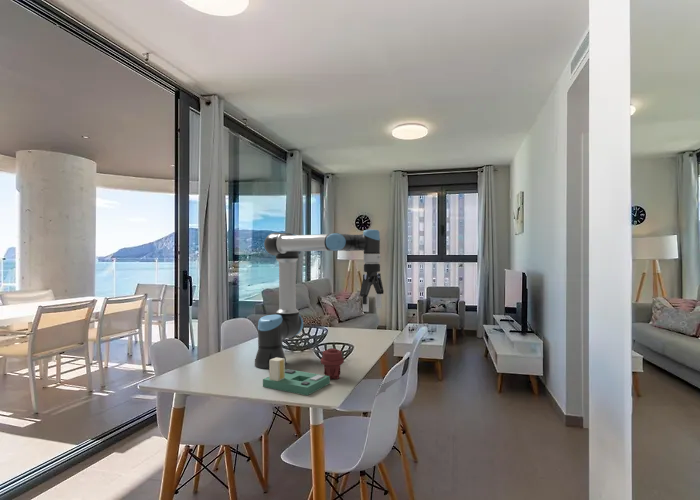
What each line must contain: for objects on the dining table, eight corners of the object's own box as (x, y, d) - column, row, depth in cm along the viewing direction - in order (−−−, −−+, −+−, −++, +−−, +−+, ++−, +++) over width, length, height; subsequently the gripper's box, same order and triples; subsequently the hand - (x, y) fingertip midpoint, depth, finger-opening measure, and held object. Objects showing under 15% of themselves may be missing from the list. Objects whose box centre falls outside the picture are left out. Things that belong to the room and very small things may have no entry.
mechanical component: (320, 381, 167) (320, 374, 177) (344, 381, 168) (343, 373, 178) (320, 352, 167) (320, 346, 177) (344, 351, 168) (342, 346, 178)
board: (262, 386, 161) (262, 377, 161) (287, 375, 175) (287, 367, 175) (307, 395, 151) (307, 386, 151) (329, 383, 165) (329, 374, 165)
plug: (269, 379, 161) (269, 359, 161) (276, 376, 165) (276, 357, 165) (278, 381, 158) (278, 361, 158) (285, 378, 162) (285, 358, 162)
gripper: (367, 264, 170) (367, 313, 169) (390, 262, 192) (390, 306, 191) (351, 264, 173) (352, 312, 173) (376, 262, 195) (376, 305, 195)
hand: (372, 309), depth 182 cm, fingers open, 13 cm apart
